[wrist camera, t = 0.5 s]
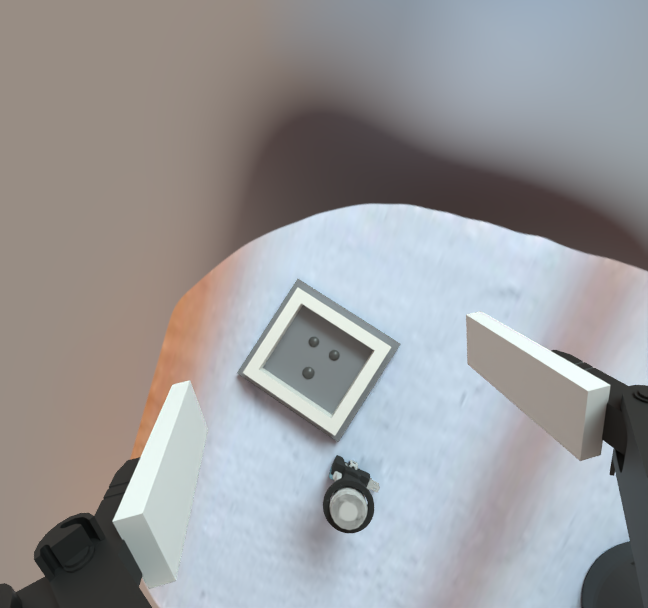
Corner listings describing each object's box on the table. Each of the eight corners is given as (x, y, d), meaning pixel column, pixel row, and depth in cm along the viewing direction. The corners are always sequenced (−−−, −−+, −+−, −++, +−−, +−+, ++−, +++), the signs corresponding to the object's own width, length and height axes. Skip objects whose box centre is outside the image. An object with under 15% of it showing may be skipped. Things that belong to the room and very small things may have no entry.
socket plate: (399, 343, 46) (402, 344, 43) (338, 439, 46) (337, 447, 43) (298, 279, 47) (295, 276, 44) (239, 372, 47) (231, 375, 44)
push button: (385, 466, 45) (395, 505, 35) (369, 504, 45) (374, 554, 35) (338, 443, 46) (335, 475, 36) (322, 481, 45) (314, 524, 35)
